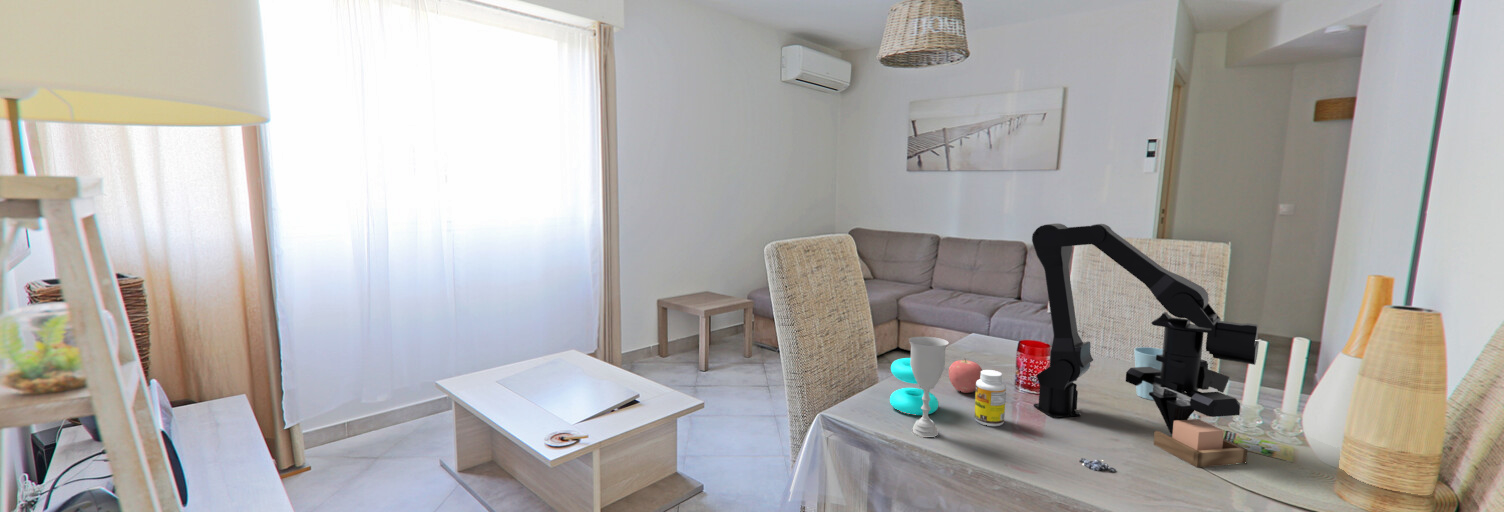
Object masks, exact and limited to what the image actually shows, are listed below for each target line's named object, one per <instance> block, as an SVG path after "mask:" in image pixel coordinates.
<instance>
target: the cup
mask: <svg viewBox="0 0 1504 512" xmlns="http://www.w3.org/2000/svg"><path fill="white" fill-rule="evenodd" d="M1133 351H1134V366H1135V367H1152V368H1155V369H1158V370H1160V371H1161V364H1162V362H1160V361H1157V360H1156V355H1162V352H1163V348H1158V347H1147V346H1140V347H1135V348H1134V350H1133ZM1135 367H1134V368H1135ZM1135 390H1136V395H1137V396H1138V397H1140V398H1142V399H1145V400H1149V401H1154V400H1153V398H1152V397H1151V396H1149V392H1153V385H1152V384H1150V383H1148V382H1145V381H1142V383H1141V384H1140V385H1139V386H1135Z"/></svg>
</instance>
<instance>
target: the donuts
mask: <svg viewBox="0 0 1504 512" xmlns="http://www.w3.org/2000/svg"><path fill="white" fill-rule="evenodd" d="M910 361H911V357H904V358H898V359H895V360H893V362H892V363H891V366H890V371H891V374H892V375H893V376H894V378H896V379H897V380H899V381H901V382H904V383H907V384H915V385H918V383H917V381H916V379H915V377H914V374H913V371H912V368H911V365H910ZM923 394H924V390H923V388H917V387H903V388H899V389H897V390H894V391H893V392H892V393H891V395H890V397H889V404H890V405H892V406H893V407H894V408H895V409H897V410H900V411H902V412H906V413H910V414H916V415H915V416H923V410H922V409H921V407H922V406H923V400H922V397H923ZM929 397H930V399H931V400H930V401H929V407H930V408H931V409H930V410H929V413H928V415H932V414H934V413H935V412H937V410H938V408H939V401H938V398H937V397H936V396H935V395H934V394H933V393H932V392H930V391H929ZM892 406H891V407H892ZM893 407H892V408H893ZM894 408H893V409H894ZM895 409H894V410H895ZM897 410H896V411H897ZM902 412H901V413H902Z"/></svg>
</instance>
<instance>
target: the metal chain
mask: <svg viewBox="0 0 1504 512" xmlns="http://www.w3.org/2000/svg"><path fill="white" fill-rule="evenodd" d="M1101 461H1102V462H1101ZM1103 462H1104V460H1103V459H1101V460H1099V459H1093V460H1090V459H1088V458H1087V459H1086V458H1084V457H1081V458H1080V460H1079V461H1078V463H1080V464H1081V465H1082V466H1084V467H1085V468H1087V469H1088V470H1091V471H1094V472H1101V473H1105V472H1106V473H1109V474H1114V473H1116V472H1117V470H1116V468H1115V467H1109V464H1110V463H1109V462H1104V463H1103Z"/></svg>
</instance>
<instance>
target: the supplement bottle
mask: <svg viewBox="0 0 1504 512" xmlns="http://www.w3.org/2000/svg"><path fill="white" fill-rule="evenodd" d="M1006 392H1007V386H1006V383H1005V382H1003V373H1002V372H1000V371H997V370H994V369H993V370H992V369H982V371H981V376H980V379H979V380H977V382H976V390H975V395H974V396H975V397H974V420H975V421H976V422H977V423H978V424H980V425H983V426H986V425H987V427H999V426H1002V425H1003V424H1004V423H1005V413H1006V412H1005V411H1006Z"/></svg>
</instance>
